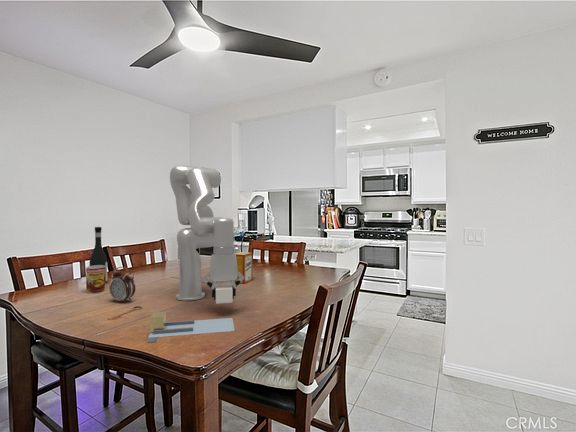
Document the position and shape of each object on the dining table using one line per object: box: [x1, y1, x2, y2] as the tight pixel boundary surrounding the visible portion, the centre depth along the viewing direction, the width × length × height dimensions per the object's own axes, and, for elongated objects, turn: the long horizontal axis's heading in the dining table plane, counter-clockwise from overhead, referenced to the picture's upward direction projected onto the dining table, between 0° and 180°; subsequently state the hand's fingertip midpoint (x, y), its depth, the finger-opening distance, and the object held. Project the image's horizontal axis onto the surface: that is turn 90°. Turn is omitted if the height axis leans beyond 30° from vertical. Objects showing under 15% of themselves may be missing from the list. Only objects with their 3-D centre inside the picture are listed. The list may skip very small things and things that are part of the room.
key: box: [107, 305, 143, 321], centre depth 121 cm, size 6×1×15 cm
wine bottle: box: [89, 226, 108, 284], centre depth 166 cm, size 8×8×30 cm
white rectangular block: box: [215, 282, 234, 305], centre depth 119 cm, size 9×6×5 cm, turn 13°
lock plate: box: [147, 317, 235, 344], centre depth 105 cm, size 12×26×2 cm, turn 103°
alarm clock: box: [108, 266, 136, 304], centre depth 136 cm, size 11×5×15 cm, turn 70°
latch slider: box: [149, 310, 167, 334], centre depth 102 cm, size 5×4×5 cm
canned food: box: [85, 265, 106, 295], centre depth 152 cm, size 8×8×12 cm
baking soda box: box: [235, 251, 254, 285], centre depth 174 cm, size 10×6×16 cm
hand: (223, 298), depth 119 cm, fingers closed on white rectangular block, 6 cm apart
